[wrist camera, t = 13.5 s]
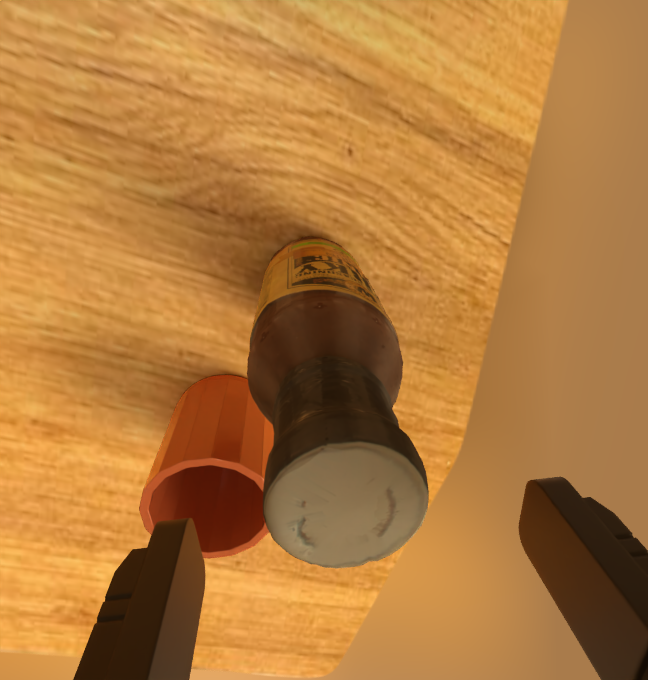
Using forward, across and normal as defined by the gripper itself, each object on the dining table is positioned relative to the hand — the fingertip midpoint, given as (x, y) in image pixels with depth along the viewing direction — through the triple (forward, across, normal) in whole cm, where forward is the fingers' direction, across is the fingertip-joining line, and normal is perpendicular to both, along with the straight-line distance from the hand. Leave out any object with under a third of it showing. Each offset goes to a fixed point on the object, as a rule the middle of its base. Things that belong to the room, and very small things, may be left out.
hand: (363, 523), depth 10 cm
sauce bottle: (+20, 0, 0) cm, 20 cm away
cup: (+20, +7, +10) cm, 23 cm away
